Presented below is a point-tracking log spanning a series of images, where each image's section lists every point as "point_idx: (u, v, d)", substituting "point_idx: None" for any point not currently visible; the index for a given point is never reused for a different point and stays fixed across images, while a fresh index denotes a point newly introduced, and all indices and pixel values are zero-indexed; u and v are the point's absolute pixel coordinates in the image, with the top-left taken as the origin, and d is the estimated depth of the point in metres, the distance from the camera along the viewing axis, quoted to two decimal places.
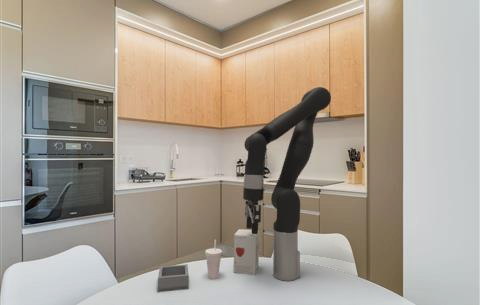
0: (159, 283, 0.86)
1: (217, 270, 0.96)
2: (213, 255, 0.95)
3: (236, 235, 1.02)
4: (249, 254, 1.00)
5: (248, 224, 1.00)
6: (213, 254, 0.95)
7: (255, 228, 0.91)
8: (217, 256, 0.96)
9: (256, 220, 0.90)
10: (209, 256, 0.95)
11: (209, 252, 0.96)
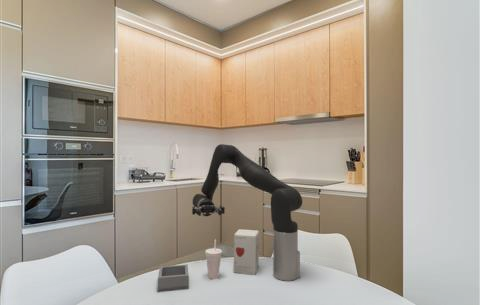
0: (159, 283, 0.86)
1: (217, 270, 0.96)
2: (213, 255, 0.95)
3: (236, 235, 1.02)
4: (249, 254, 1.00)
5: (218, 213, 1.12)
6: (213, 254, 0.95)
7: (197, 212, 1.10)
8: (217, 256, 0.96)
9: None
10: (209, 256, 0.95)
11: (209, 252, 0.96)
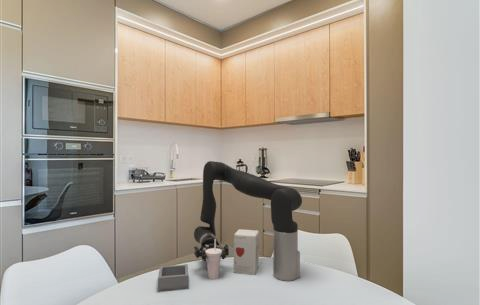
0: (159, 283, 0.86)
1: (217, 270, 0.96)
2: (213, 255, 0.95)
3: (236, 235, 1.02)
4: (249, 254, 1.00)
5: (222, 256, 0.98)
6: (213, 254, 0.95)
7: (201, 256, 0.97)
8: (217, 256, 0.96)
9: None
10: (209, 256, 0.95)
11: (209, 252, 0.96)
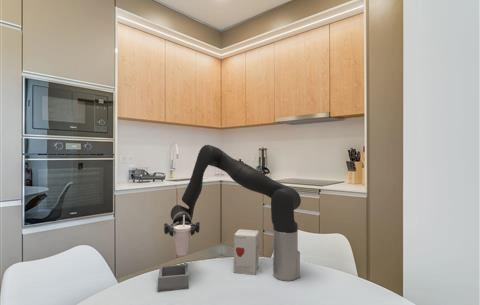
0: (159, 283, 0.86)
1: (185, 246, 0.93)
2: (181, 231, 0.92)
3: (236, 235, 1.02)
4: (249, 254, 1.00)
5: None
6: (180, 230, 0.92)
7: (169, 232, 0.93)
8: (185, 232, 0.92)
9: None
10: (176, 232, 0.92)
11: (177, 228, 0.93)
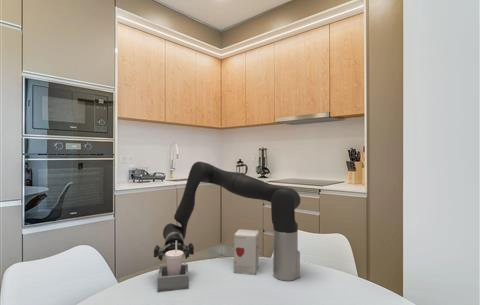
0: (159, 283, 0.86)
1: (177, 273, 0.91)
2: (173, 258, 0.89)
3: (236, 235, 1.02)
4: (249, 254, 1.00)
5: None
6: (173, 257, 0.89)
7: None
8: (177, 259, 0.90)
9: None
10: (168, 259, 0.90)
11: (169, 254, 0.91)
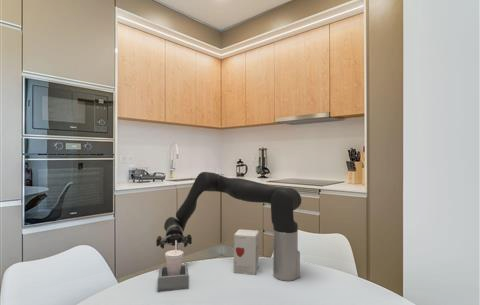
0: (159, 283, 0.86)
1: (177, 273, 0.91)
2: (173, 258, 0.90)
3: (236, 235, 1.02)
4: (249, 254, 1.00)
5: (184, 244, 1.05)
6: (172, 256, 0.89)
7: None
8: (177, 258, 0.90)
9: None
10: (168, 258, 0.90)
11: (169, 254, 0.91)
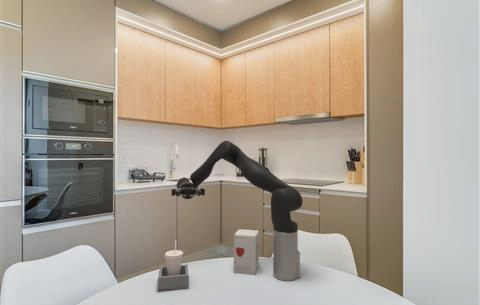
0: (159, 283, 0.86)
1: (177, 273, 0.91)
2: (172, 258, 0.89)
3: (236, 235, 1.02)
4: (249, 254, 1.00)
5: (198, 194, 1.10)
6: (172, 256, 0.89)
7: (175, 193, 1.08)
8: (177, 259, 0.90)
9: None
10: (168, 259, 0.90)
11: (168, 254, 0.91)
